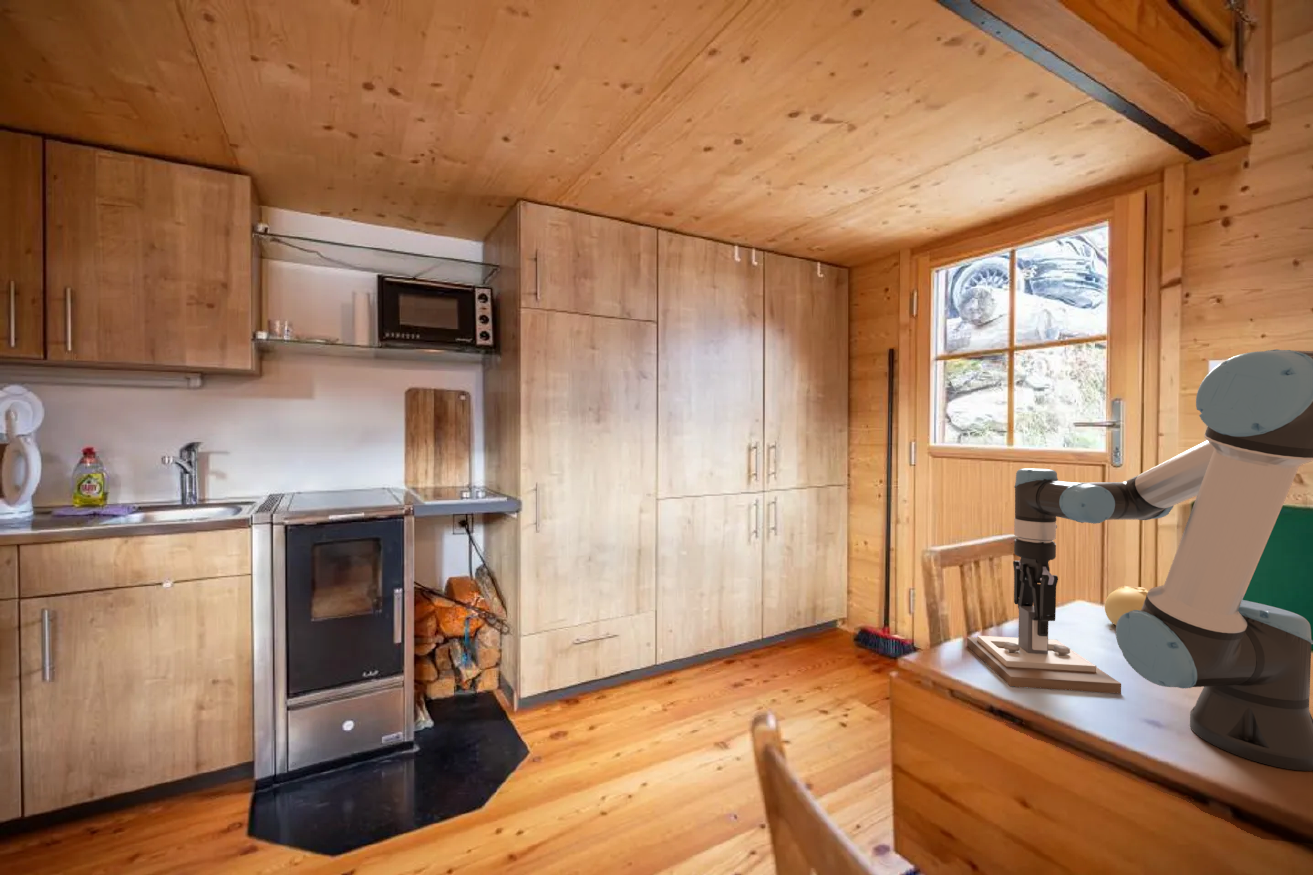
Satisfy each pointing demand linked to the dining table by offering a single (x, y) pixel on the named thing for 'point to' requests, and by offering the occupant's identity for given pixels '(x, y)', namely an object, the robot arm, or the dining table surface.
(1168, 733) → the dining table surface
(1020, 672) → the board
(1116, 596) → the sculpture
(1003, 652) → the panel
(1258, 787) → the dining table surface
